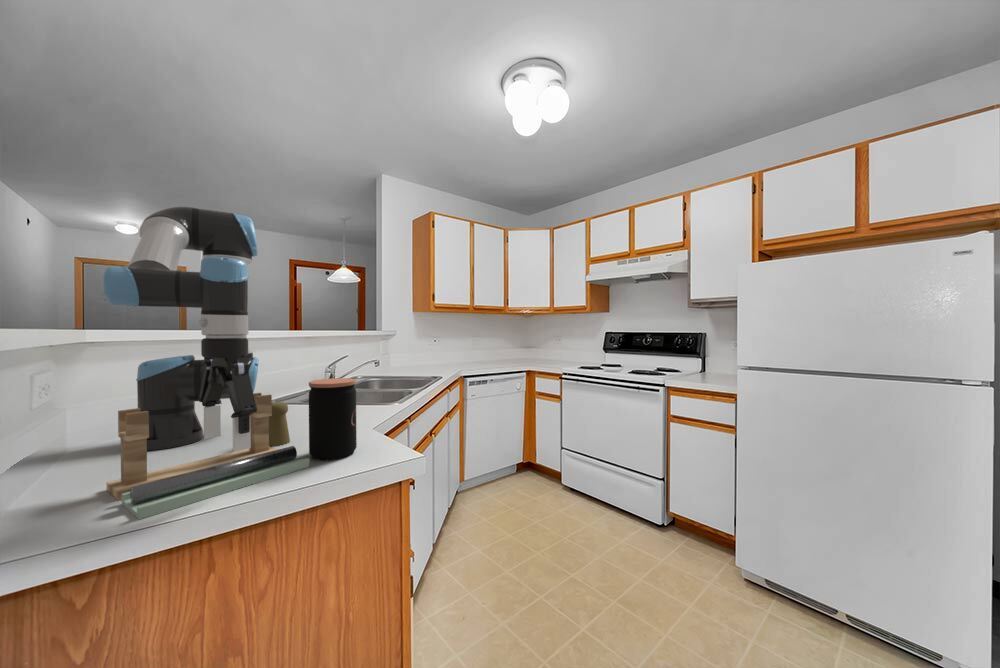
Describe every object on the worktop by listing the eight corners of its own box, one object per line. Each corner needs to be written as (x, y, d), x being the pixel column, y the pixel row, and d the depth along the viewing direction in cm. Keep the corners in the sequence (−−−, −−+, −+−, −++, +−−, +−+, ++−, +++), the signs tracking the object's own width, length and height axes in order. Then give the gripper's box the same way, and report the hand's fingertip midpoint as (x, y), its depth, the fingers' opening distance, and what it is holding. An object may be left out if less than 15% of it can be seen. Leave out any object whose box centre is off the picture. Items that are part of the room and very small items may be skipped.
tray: (121, 504, 66) (121, 493, 66) (286, 458, 89) (286, 450, 89) (139, 519, 60) (138, 508, 60) (309, 466, 83) (309, 458, 83)
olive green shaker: (278, 447, 98) (277, 405, 98) (258, 445, 99) (258, 404, 99) (295, 440, 104) (294, 400, 103) (276, 439, 105) (276, 400, 105)
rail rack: (106, 490, 71) (105, 411, 71) (264, 450, 95) (264, 391, 95) (117, 500, 67) (116, 416, 67) (280, 456, 90) (280, 394, 90)
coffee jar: (361, 455, 91) (360, 381, 91) (312, 464, 85) (311, 385, 84) (351, 444, 99) (350, 377, 99) (306, 452, 93) (305, 380, 93)
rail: (136, 502, 63) (133, 484, 63) (131, 506, 64) (129, 489, 65) (298, 456, 85) (294, 444, 86) (292, 460, 87) (288, 448, 87)
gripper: (178, 335, 78) (180, 436, 79) (231, 339, 64) (232, 461, 65) (220, 335, 84) (221, 428, 85) (276, 338, 71) (277, 450, 71)
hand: (226, 443), depth 75 cm, fingers open, 13 cm apart
